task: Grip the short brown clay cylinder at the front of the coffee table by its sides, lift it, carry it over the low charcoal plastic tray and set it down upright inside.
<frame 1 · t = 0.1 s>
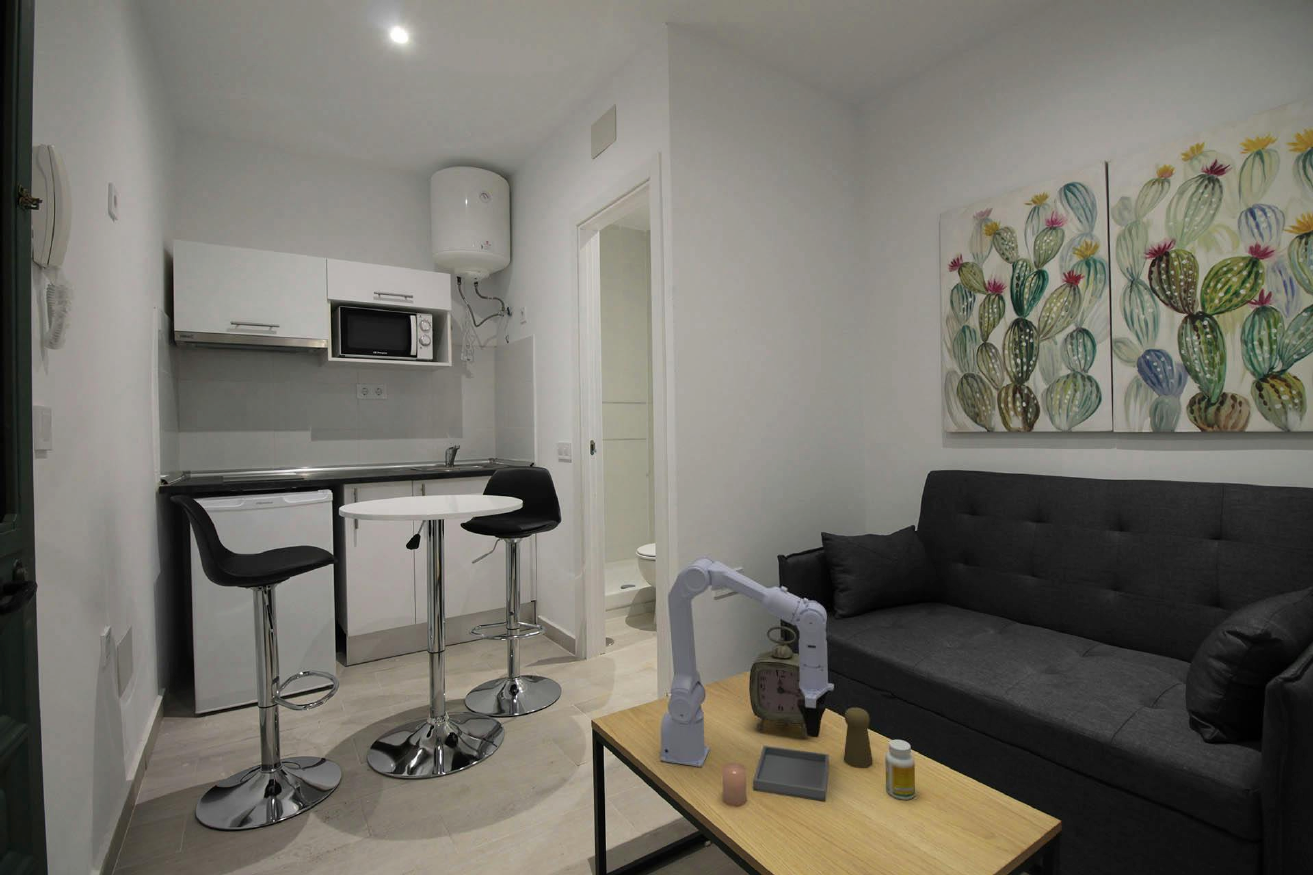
hand: (814, 727, 127), 10 cm above the table, tool pointing down, fingers open, 7 cm apart
brown pawn figure: (858, 761, 132), on the table
tabletop clock: (784, 729, 147), on the table
brown clay cylinder: (734, 799, 120), on the table
supplement bottle: (900, 793, 120), on the table
tray: (792, 776, 127), on the table
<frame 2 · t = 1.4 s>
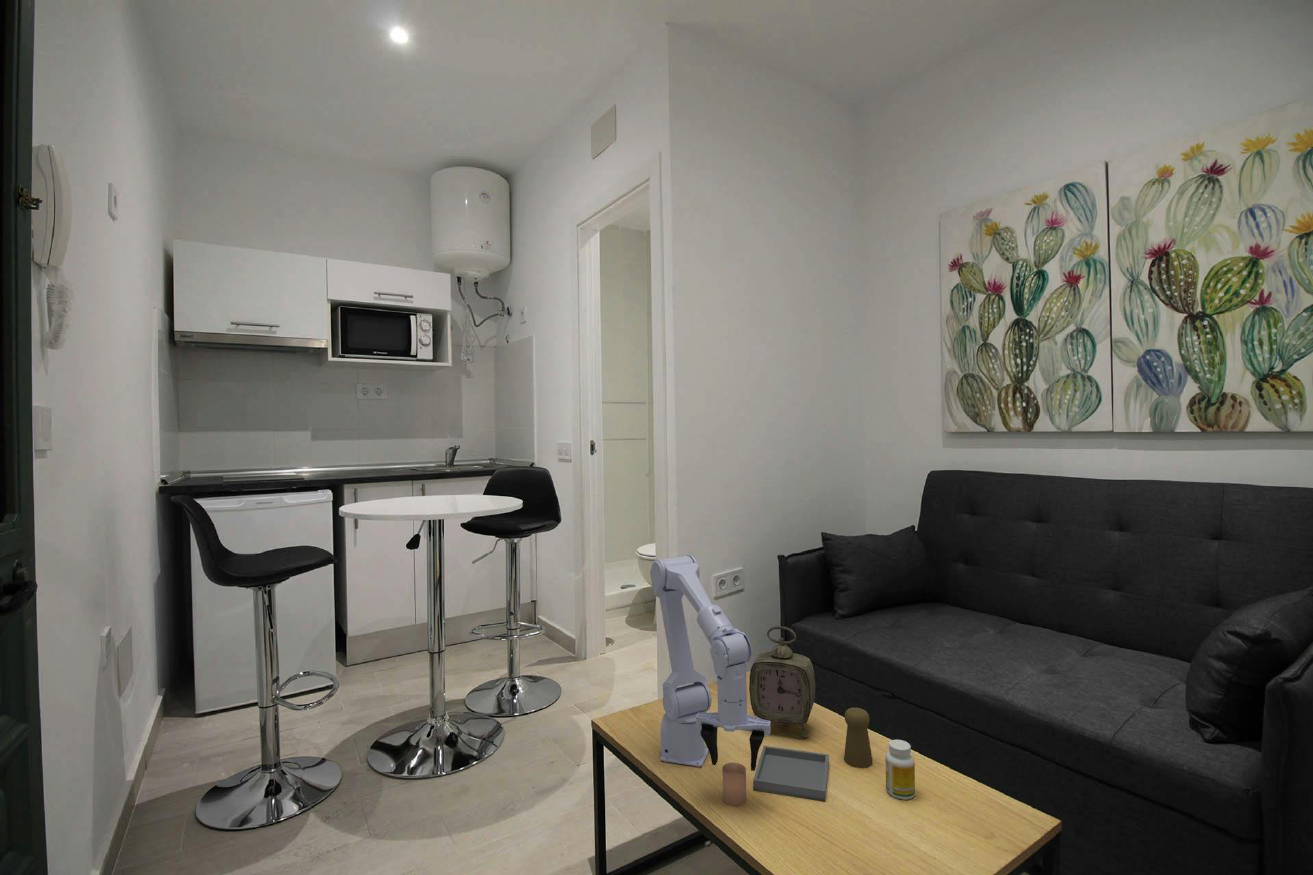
hand: (734, 765, 120), 7 cm above the table, tool pointing down, fingers open, 7 cm apart
nothing on the table moved.
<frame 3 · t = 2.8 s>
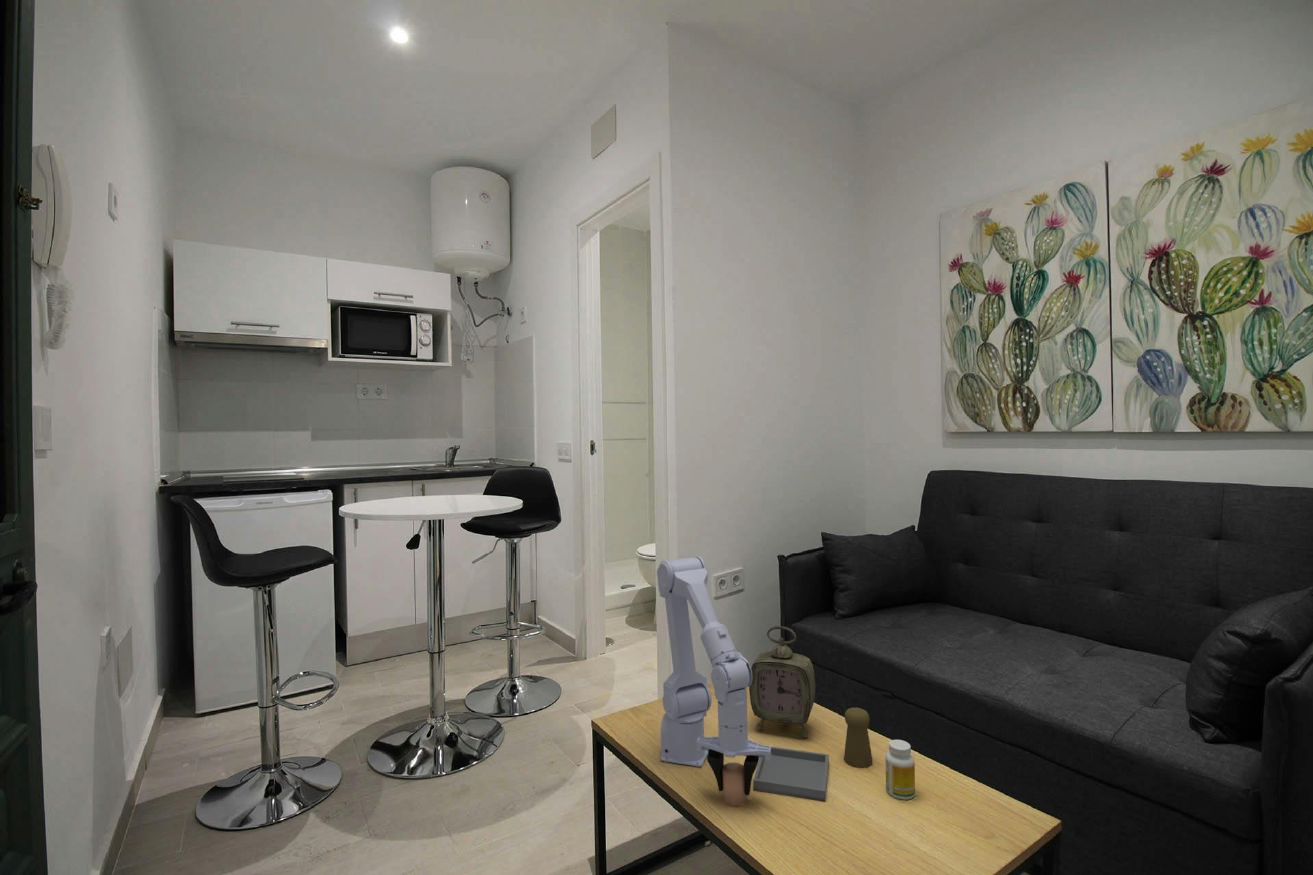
hand: (734, 790, 120), 2 cm above the table, tool pointing down, fingers closed on brown clay cylinder, 5 cm apart
brown clay cylinder: (734, 798, 120), on the table, touching gripper
everything else where it was.
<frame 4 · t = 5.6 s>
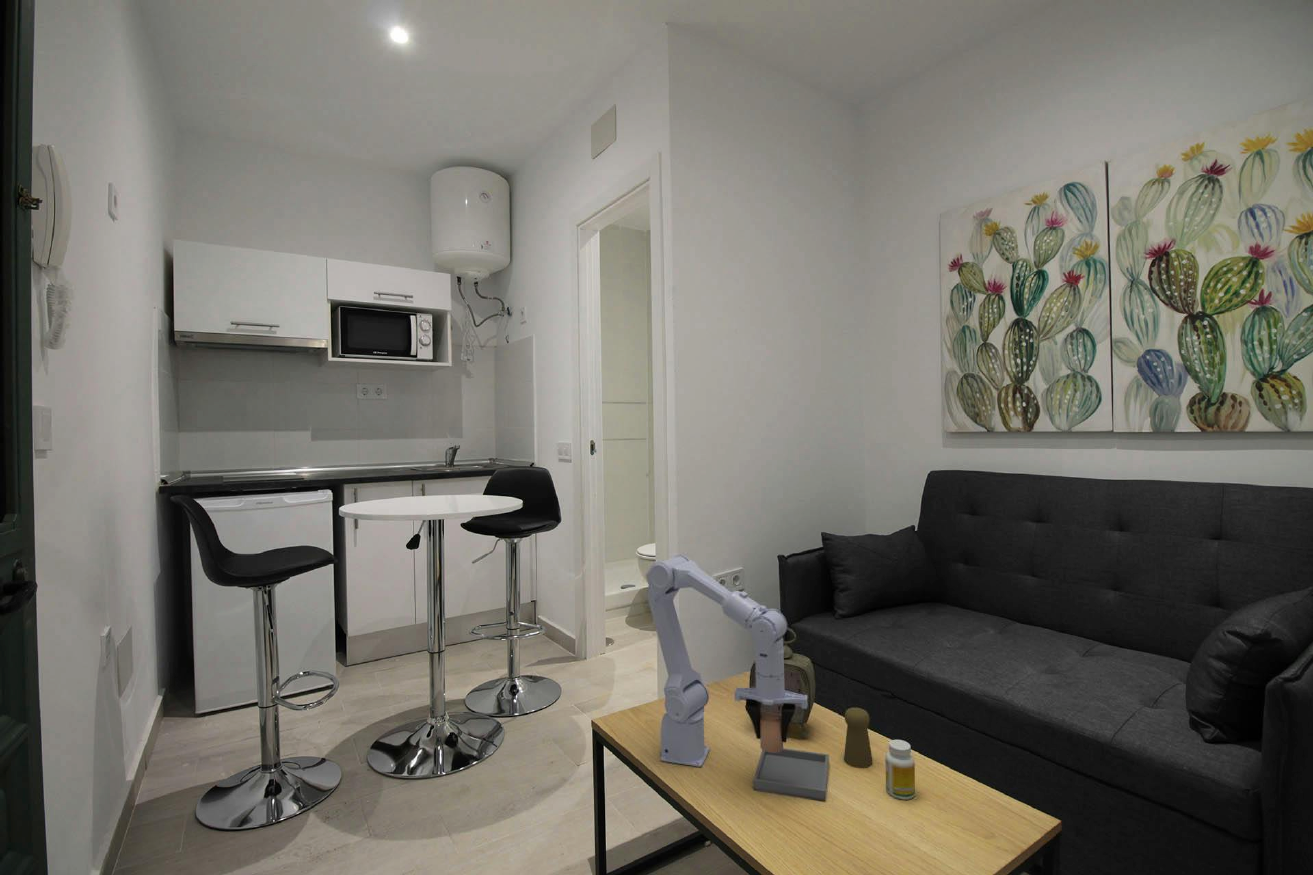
hand: (771, 738, 124), 9 cm above the table, tool pointing down, fingers closed on brown clay cylinder, 5 cm apart
brown clay cylinder: (771, 746, 124), point 8 cm above the table, touching gripper
everything else where it was.
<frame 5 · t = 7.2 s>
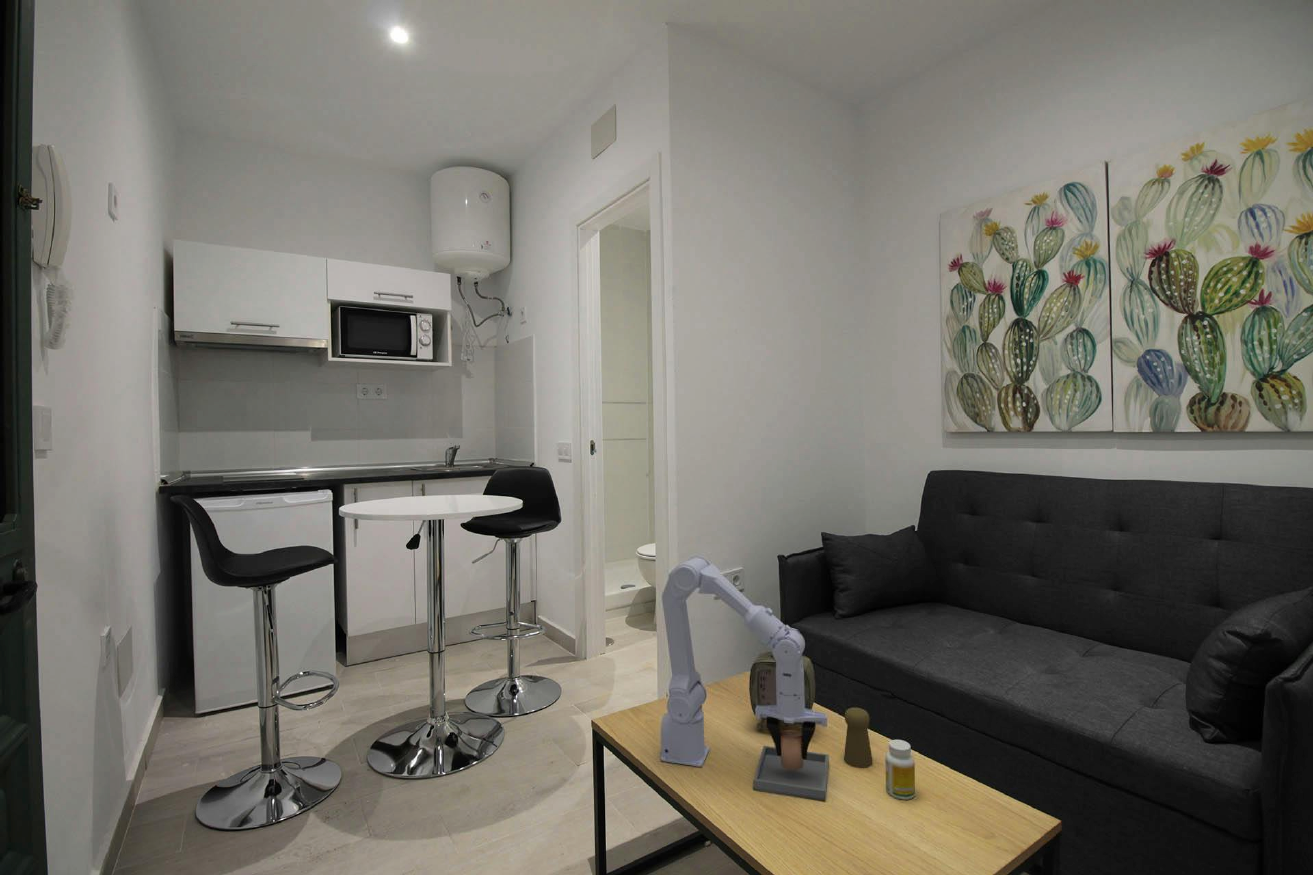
hand: (792, 755, 127), 4 cm above the table, tool pointing down, fingers closed on brown clay cylinder, 5 cm apart
brown clay cylinder: (792, 763, 127), point 3 cm above the table, touching gripper
everything else where it was.
when the fingers open (3 cm above the table, at t = 8.4 s): brown clay cylinder stays where it is, resting on tray.
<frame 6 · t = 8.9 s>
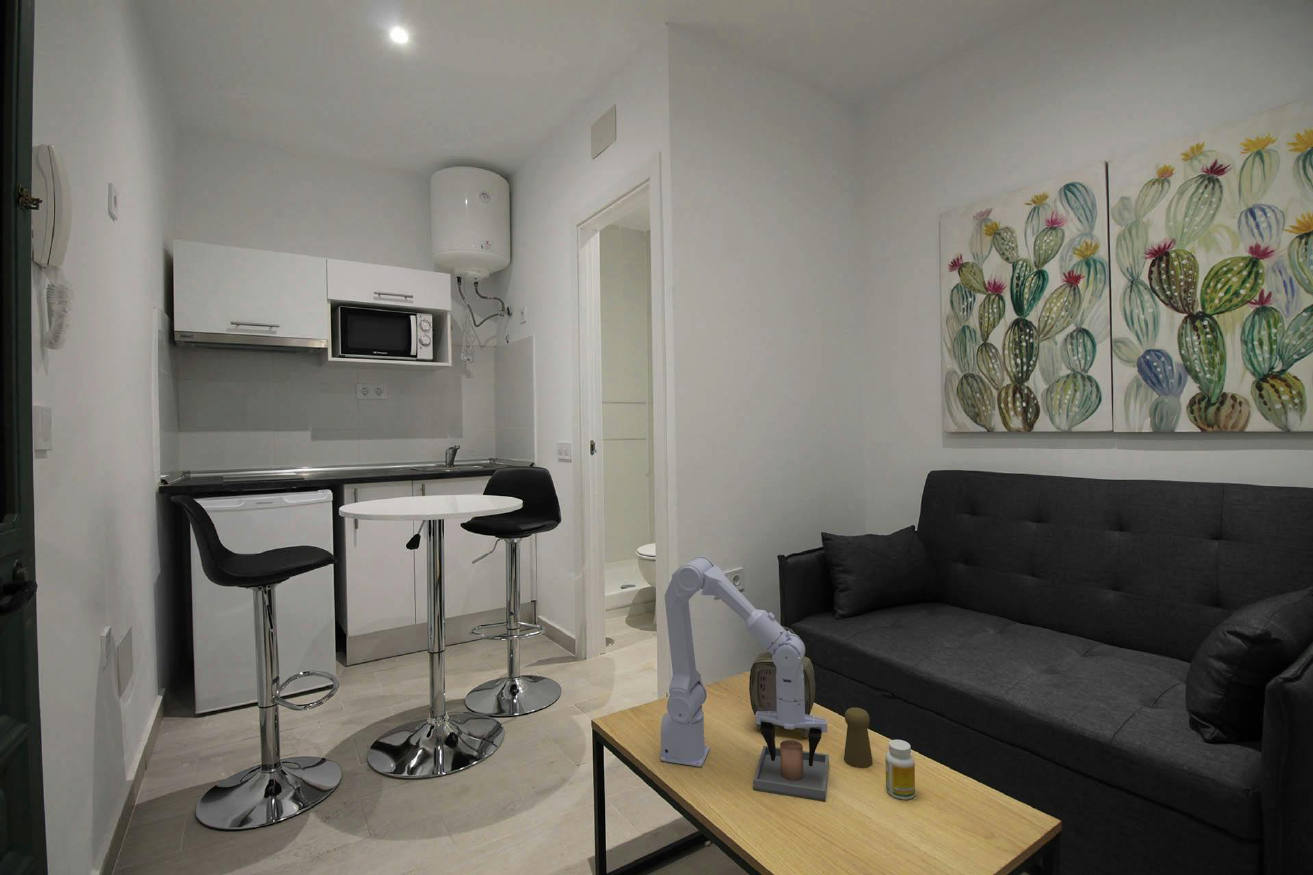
hand: (792, 760, 127), 3 cm above the table, tool pointing down, fingers open, 7 cm apart
brown clay cylinder: (792, 774, 127), point 1 cm above the table, touching tray
everything else where it was.
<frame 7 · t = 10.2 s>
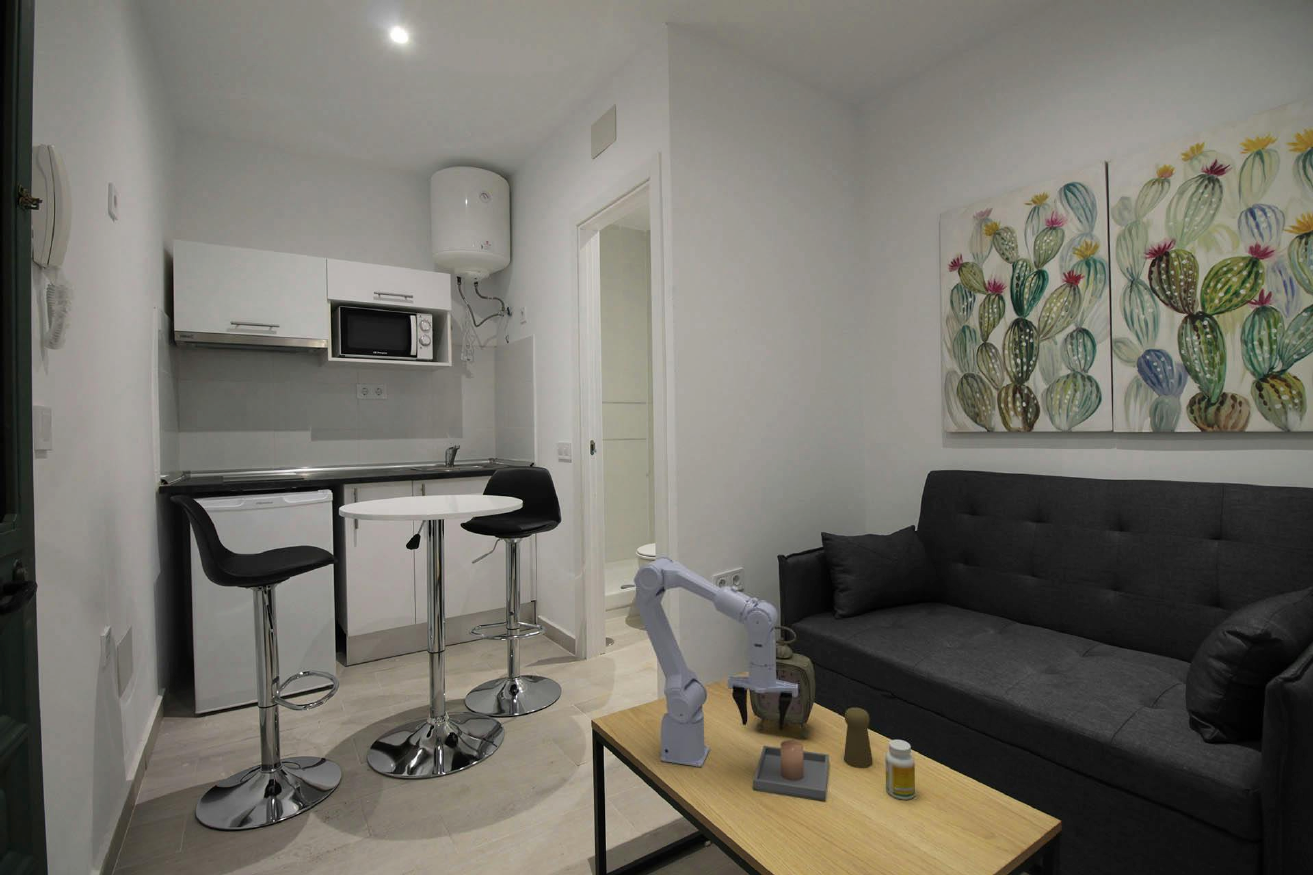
hand: (763, 725, 129), 10 cm above the table, tool pointing down, fingers open, 7 cm apart
nothing on the table moved.
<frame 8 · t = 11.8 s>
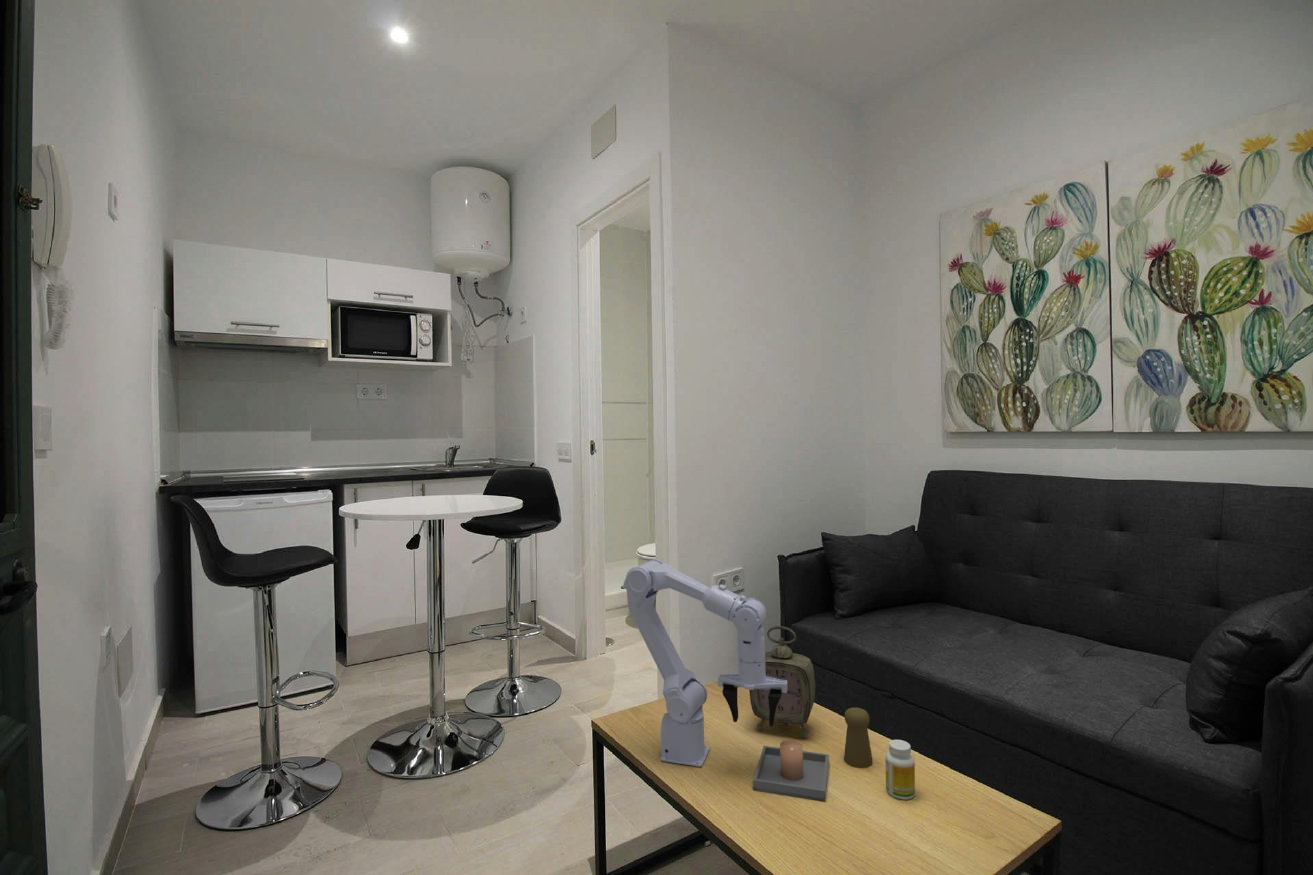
hand: (753, 721, 129), 10 cm above the table, tool pointing down, fingers open, 7 cm apart
nothing on the table moved.
at the end: brown clay cylinder inside the target area on the tray (0.2 cm from its centre), point 0.5 cm above the tray's base; brown clay cylinder tilted 1° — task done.
